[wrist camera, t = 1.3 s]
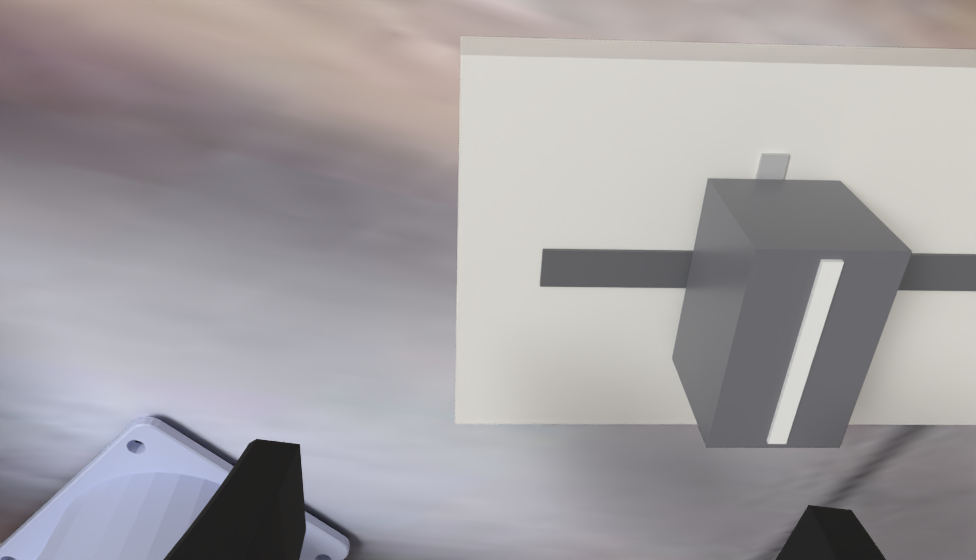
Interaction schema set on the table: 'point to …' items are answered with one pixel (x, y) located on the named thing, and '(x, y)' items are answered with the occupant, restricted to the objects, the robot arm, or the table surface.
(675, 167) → the fader console
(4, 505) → the table surface
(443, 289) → the table surface
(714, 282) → the fader knob
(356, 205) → the table surface
